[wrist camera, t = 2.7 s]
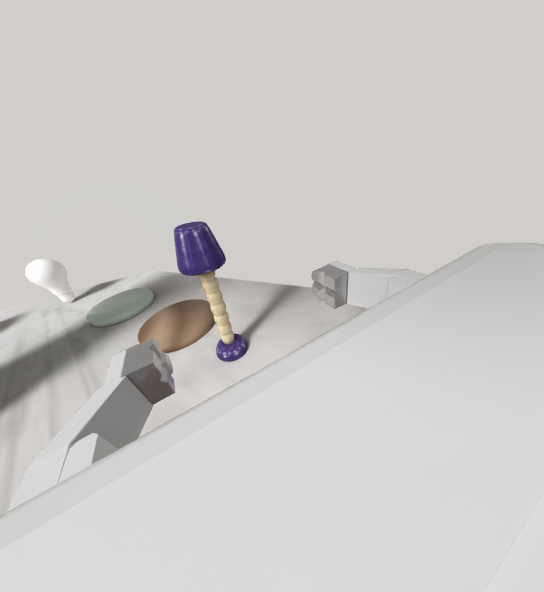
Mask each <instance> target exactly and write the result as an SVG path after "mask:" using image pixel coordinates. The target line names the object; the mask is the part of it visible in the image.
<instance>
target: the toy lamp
mask: <svg viewBox="0 0 544 592" xmlns="http://www.w3.org/2000/svg"><path fill="white" fill-rule="evenodd" d="M174 240H175V249H176V257H177V265H178V269H179V271H180V272H181V273H182V274H184V275H190V276H196V275H198V276H199V278H200V279H201V280H202V286H203V289H204V291H205V292H206V293H207V294H206V296H207V300H208V302H209V303H210V308H211V311H212V313H213V314H214V320H215V322H216V324H217V328H218V331H219V333H220V336H221V339H220V341H219V342H218V344H217V348H216V352H217V356H218V357H219V359H221V360H222V361H228V362H229V361H234V360H237V359H239V358H240V357H241V356H243V355H244V354H245V352H246V350H247V347H248V345H247V342H246V340H245V339H244V338H243V337H242V336H241V335H239V334H234V333H233V331H232V330H231V329H232V327H231V323H230V322H229V315H228V313H227V312H226V305H225V303H224V301H223V300H222V299H223V297H222V293H221V291H220V290H219V283H218V281H217V279H216V278H215V270H216V269H219V268H220V267H221V266H222V265H223V264H224V263H225V260H226V258H225V255H224V253H223V251H222V249H221V248H220V246H219V244H218V242H217V241H216V239H215V237H214V235H213V233H212V232H211V230H210V228H209V227H208V225H207V224H206V223H204V222H191V223H186V224H182V225H180V226H178V227H176V228H175V229H174Z"/></svg>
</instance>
